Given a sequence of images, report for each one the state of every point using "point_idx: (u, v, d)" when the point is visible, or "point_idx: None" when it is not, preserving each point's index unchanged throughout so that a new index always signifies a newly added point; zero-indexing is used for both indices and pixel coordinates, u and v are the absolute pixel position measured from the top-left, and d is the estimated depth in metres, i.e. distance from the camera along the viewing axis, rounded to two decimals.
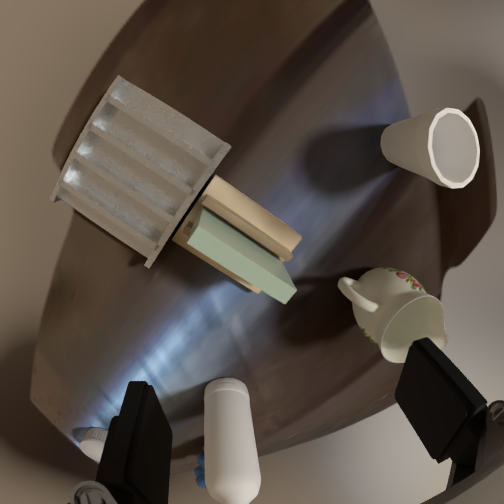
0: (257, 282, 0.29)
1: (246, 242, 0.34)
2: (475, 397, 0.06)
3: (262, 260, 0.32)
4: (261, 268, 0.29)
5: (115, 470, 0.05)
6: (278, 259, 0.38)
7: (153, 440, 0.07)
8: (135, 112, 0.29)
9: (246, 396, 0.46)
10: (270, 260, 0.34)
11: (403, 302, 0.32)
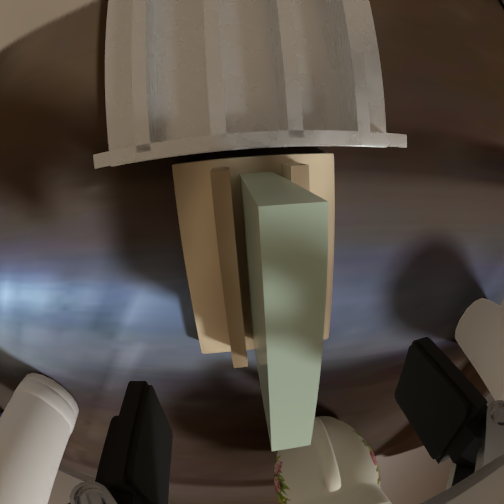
0: (280, 404, 0.11)
1: None
2: (475, 397, 0.06)
3: None
4: (315, 389, 0.11)
5: (115, 470, 0.05)
6: None
7: (153, 440, 0.07)
8: None
9: (71, 429, 0.22)
10: None
11: (368, 499, 0.16)
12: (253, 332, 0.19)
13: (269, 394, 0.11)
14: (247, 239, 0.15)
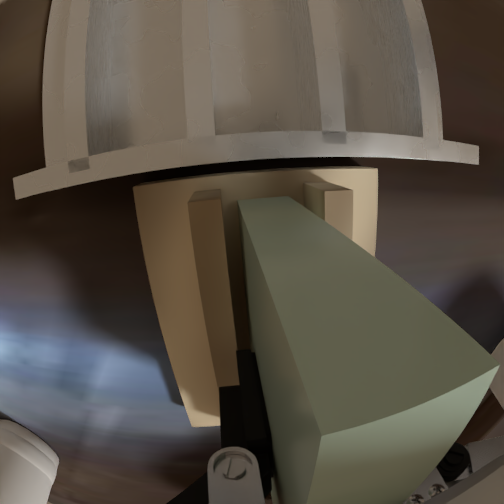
0: None
1: None
2: None
3: None
4: None
5: (256, 428, 0.06)
6: None
7: None
8: None
9: (52, 481, 0.16)
10: None
11: None
12: None
13: None
14: (252, 317, 0.09)
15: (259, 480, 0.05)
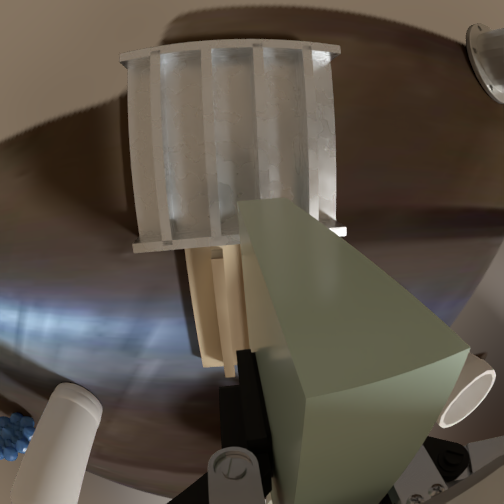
0: None
1: None
2: None
3: None
4: None
5: (256, 428, 0.06)
6: None
7: None
8: (313, 96, 0.20)
9: (97, 426, 0.30)
10: None
11: None
12: None
13: None
14: (251, 312, 0.09)
15: (259, 480, 0.05)
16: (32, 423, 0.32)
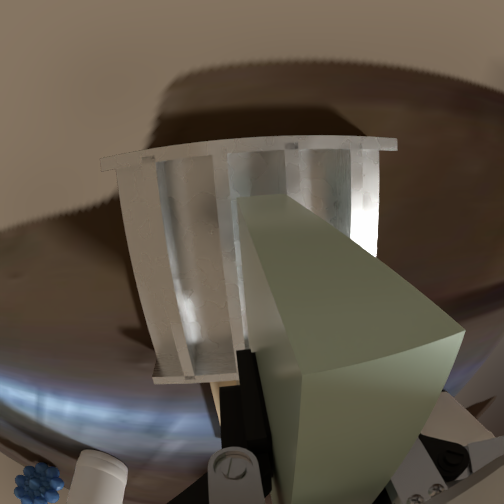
0: None
1: None
2: None
3: None
4: None
5: (256, 428, 0.06)
6: None
7: None
8: (360, 216, 0.17)
9: None
10: None
11: None
12: None
13: None
14: (250, 306, 0.10)
15: (259, 480, 0.05)
16: (57, 473, 0.31)
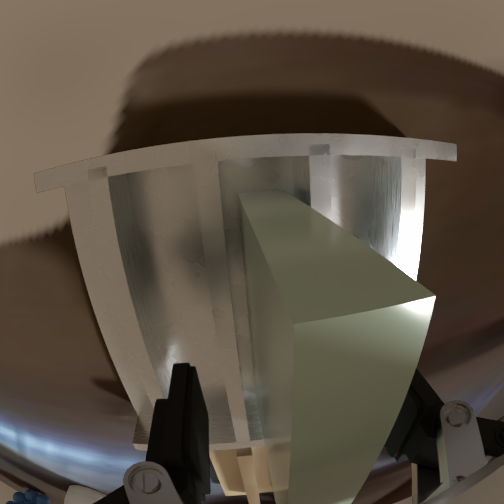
0: None
1: None
2: (427, 395, 0.06)
3: None
4: None
5: (172, 447, 0.06)
6: None
7: (198, 419, 0.08)
8: (408, 253, 0.12)
9: None
10: None
11: None
12: (257, 395, 0.14)
13: None
14: (251, 294, 0.10)
15: (167, 498, 0.04)
16: (48, 501, 0.24)
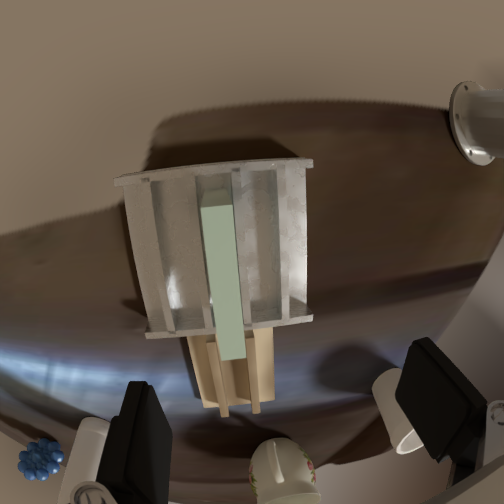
0: (221, 318, 0.21)
1: None
2: (475, 397, 0.06)
3: None
4: (240, 309, 0.21)
5: (115, 470, 0.05)
6: None
7: (153, 440, 0.07)
8: (285, 214, 0.27)
9: None
10: None
11: (302, 490, 0.31)
12: None
13: (213, 310, 0.21)
14: None
15: None
16: (59, 447, 0.38)
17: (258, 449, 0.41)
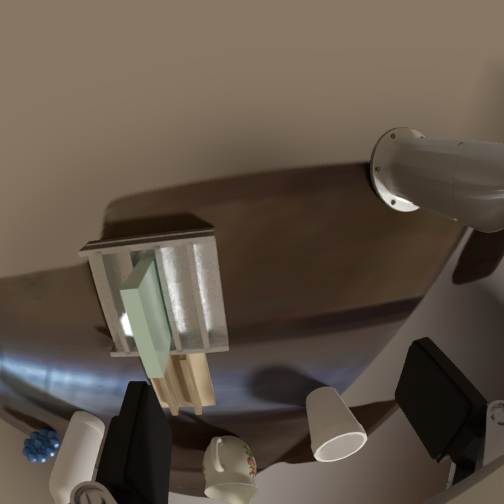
0: (142, 352, 0.30)
1: (160, 311, 0.35)
2: (475, 397, 0.06)
3: (159, 337, 0.33)
4: (153, 348, 0.30)
5: (115, 470, 0.05)
6: (171, 335, 0.39)
7: (153, 440, 0.07)
8: (196, 277, 0.36)
9: (101, 438, 0.46)
10: (164, 337, 0.35)
11: (238, 480, 0.41)
12: None
13: (137, 347, 0.30)
14: None
15: None
16: (56, 435, 0.48)
17: (210, 443, 0.51)
